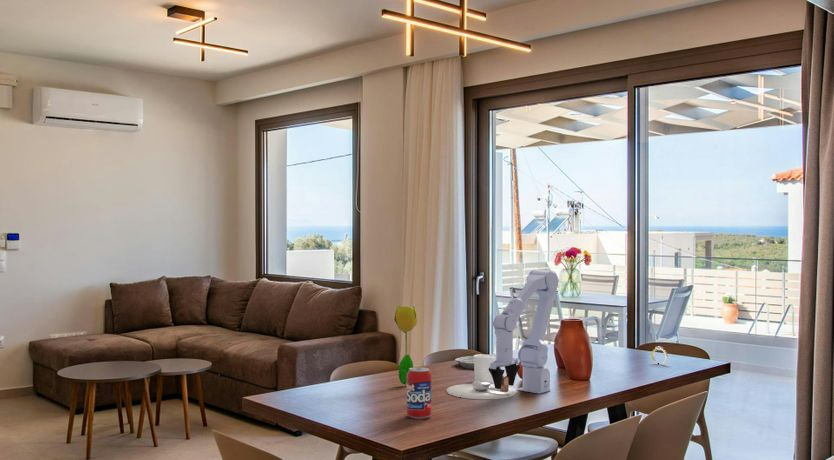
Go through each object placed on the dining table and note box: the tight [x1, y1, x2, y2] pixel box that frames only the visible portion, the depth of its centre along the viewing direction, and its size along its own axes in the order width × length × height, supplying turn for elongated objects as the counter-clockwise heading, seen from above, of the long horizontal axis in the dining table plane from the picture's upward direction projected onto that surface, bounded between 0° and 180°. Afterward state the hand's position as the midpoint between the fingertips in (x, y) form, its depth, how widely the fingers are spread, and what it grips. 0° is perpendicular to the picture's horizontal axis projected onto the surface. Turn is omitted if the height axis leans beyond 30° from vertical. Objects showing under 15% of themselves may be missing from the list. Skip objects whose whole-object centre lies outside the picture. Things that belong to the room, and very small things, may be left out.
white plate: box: [446, 383, 517, 401], centre depth 274 cm, size 25×25×1 cm
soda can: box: [406, 366, 433, 420], centre depth 237 cm, size 8×8×15 cm
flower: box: [393, 305, 418, 387], centre depth 284 cm, size 9×8×30 cm
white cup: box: [473, 353, 495, 384], centre depth 292 cm, size 8×8×10 cm
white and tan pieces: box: [472, 375, 510, 392], centre depth 271 cm, size 15×6×6 cm, turn 48°
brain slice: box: [454, 355, 474, 370], centre depth 326 cm, size 20×17×3 cm
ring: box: [650, 345, 669, 364], centre depth 333 cm, size 7×3×8 cm, turn 43°
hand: (504, 386), depth 267 cm, fingers open, 7 cm apart
